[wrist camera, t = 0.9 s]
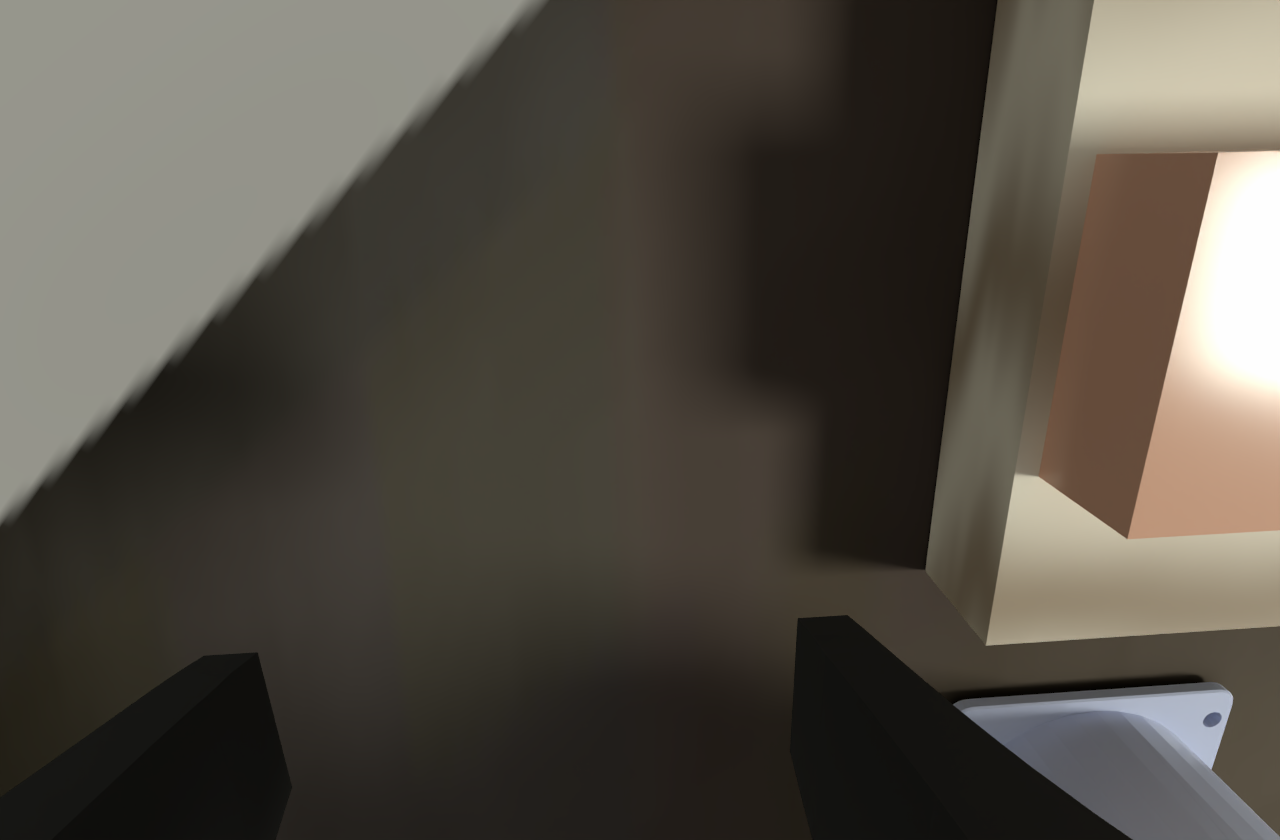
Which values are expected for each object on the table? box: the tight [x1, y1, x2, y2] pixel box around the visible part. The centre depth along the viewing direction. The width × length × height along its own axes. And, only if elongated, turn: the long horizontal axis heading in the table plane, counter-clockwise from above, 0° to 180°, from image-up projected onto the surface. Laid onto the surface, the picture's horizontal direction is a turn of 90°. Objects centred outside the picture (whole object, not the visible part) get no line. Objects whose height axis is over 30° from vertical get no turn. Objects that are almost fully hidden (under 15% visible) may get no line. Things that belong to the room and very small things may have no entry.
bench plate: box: [925, 0, 1280, 645], centre depth 15 cm, size 14×9×3 cm, turn 1°
